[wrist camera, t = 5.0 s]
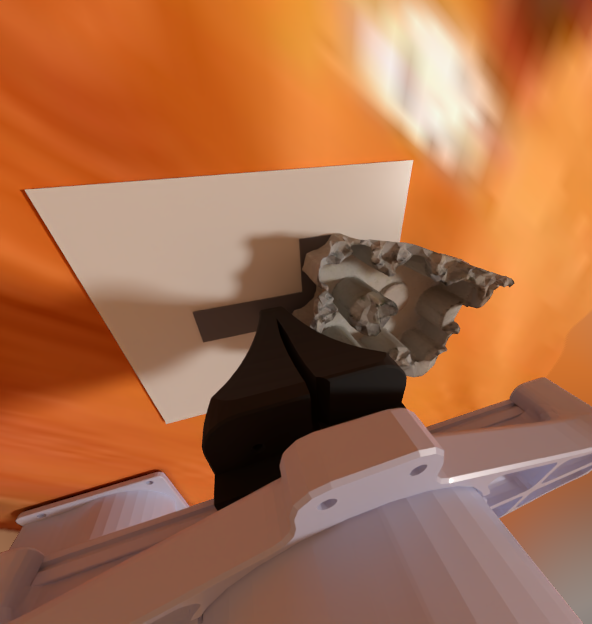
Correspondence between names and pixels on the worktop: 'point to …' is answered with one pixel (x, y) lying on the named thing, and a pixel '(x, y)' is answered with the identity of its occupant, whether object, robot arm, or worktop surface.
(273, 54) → the worktop surface
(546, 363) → the worktop surface
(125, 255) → the letter mat
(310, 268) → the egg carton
